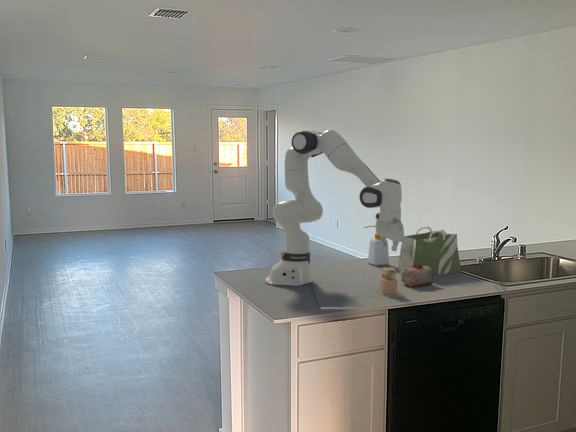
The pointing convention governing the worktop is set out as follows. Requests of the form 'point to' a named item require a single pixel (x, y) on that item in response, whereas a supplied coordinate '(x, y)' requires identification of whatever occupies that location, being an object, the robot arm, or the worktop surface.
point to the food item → (417, 276)
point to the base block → (388, 286)
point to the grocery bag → (430, 252)
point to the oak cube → (388, 273)
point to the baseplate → (371, 293)
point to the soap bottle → (377, 251)
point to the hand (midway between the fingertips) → (389, 248)
